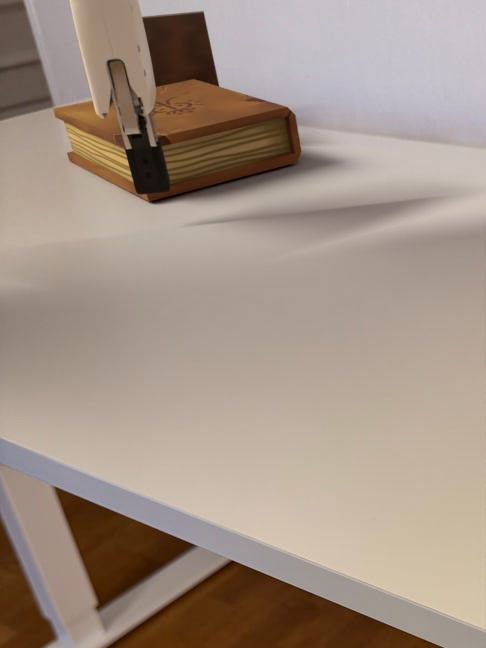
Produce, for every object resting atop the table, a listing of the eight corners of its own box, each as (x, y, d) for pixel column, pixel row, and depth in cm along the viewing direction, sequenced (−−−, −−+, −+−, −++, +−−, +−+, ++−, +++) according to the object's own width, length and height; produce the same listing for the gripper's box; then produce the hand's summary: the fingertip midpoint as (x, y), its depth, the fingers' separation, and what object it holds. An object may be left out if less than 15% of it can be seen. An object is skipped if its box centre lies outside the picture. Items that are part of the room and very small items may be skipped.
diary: (303, 162, 106) (293, 105, 102) (149, 203, 98) (132, 143, 94) (210, 127, 120) (199, 75, 116) (69, 160, 112) (51, 106, 108)
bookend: (115, 134, 120) (84, 23, 112) (118, 126, 123) (87, 18, 115) (226, 122, 121) (203, 12, 113) (226, 115, 124) (203, 7, 116)
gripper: (59, -51, 83) (120, 172, 95) (35, -30, 72) (107, 219, 84) (146, -56, 84) (195, 165, 96) (135, -37, 73) (192, 210, 85)
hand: (154, 190), depth 90 cm, fingers closed
